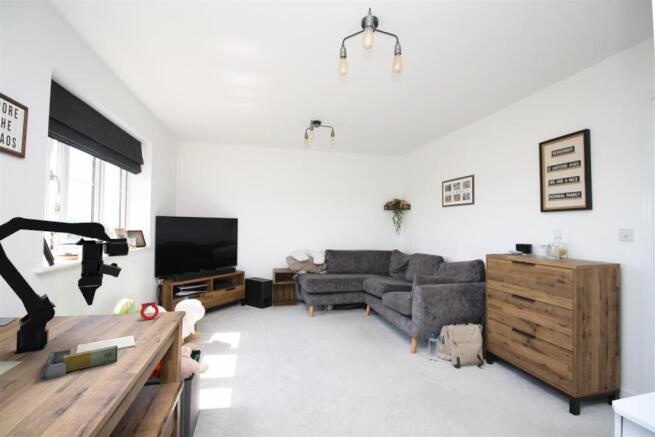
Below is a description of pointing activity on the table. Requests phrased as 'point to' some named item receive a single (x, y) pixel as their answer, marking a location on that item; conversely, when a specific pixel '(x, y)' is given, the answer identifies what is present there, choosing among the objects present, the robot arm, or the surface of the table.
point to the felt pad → (108, 344)
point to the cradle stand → (55, 369)
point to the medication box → (90, 358)
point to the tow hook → (144, 308)
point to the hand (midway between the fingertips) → (90, 302)
